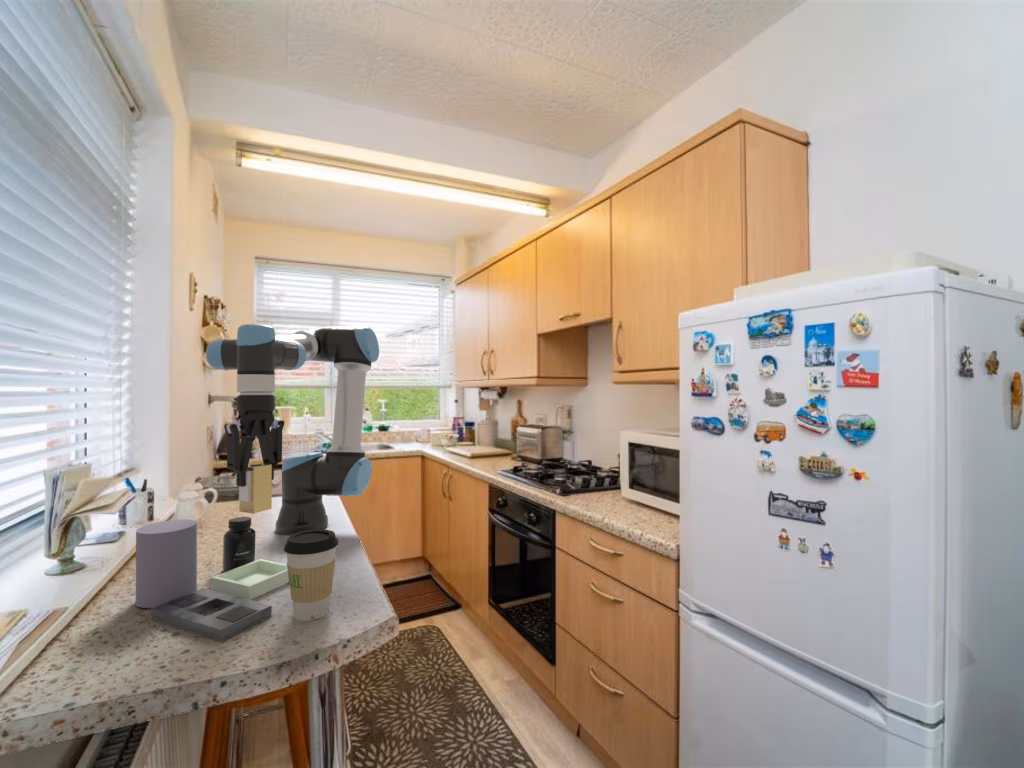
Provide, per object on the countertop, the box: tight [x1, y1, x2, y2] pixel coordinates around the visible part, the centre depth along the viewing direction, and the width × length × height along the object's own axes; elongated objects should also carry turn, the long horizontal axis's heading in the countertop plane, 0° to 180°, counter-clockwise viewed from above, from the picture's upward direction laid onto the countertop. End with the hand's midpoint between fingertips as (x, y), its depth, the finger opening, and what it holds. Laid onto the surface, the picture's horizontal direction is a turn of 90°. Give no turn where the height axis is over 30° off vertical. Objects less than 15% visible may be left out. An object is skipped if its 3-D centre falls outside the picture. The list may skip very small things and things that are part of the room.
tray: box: [210, 558, 289, 600], centre depth 105 cm, size 12×12×3 cm
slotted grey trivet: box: [150, 587, 273, 642], centre depth 90 cm, size 10×20×2 cm, turn 67°
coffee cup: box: [283, 529, 339, 622], centre depth 91 cm, size 10×10×15 cm
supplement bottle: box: [222, 516, 257, 573], centre depth 114 cm, size 7×7×12 cm
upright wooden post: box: [238, 462, 273, 514], centre depth 105 cm, size 4×4×10 cm
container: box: [135, 518, 198, 610], centre depth 98 cm, size 10×10×15 cm
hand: (255, 497), depth 105 cm, fingers closed on upright wooden post, 4 cm apart
